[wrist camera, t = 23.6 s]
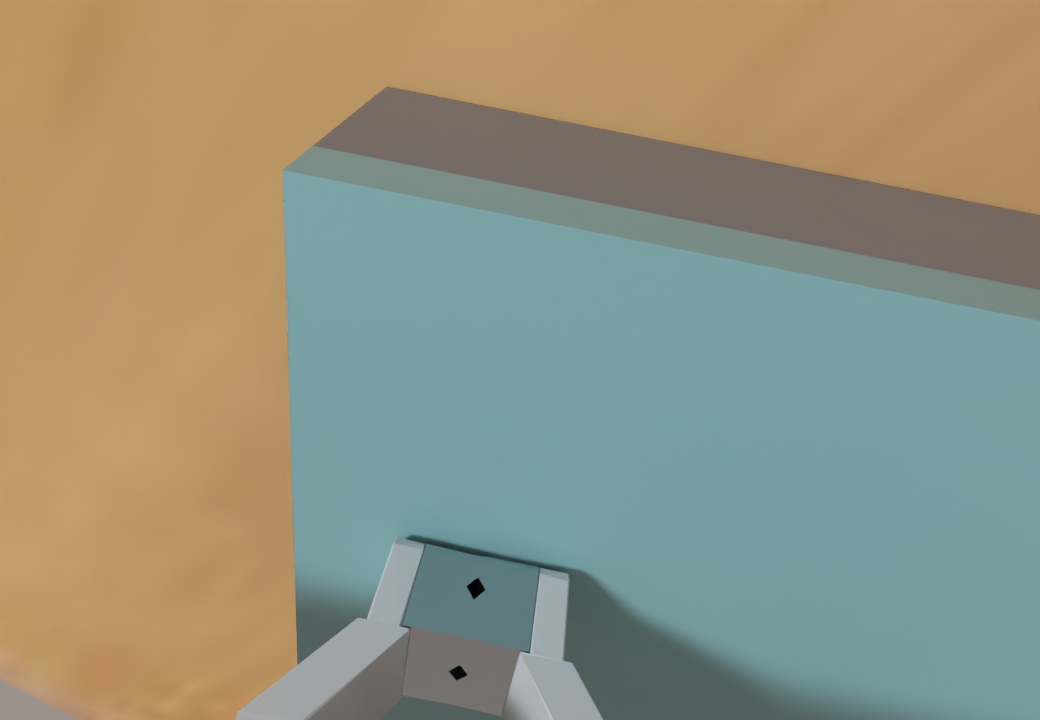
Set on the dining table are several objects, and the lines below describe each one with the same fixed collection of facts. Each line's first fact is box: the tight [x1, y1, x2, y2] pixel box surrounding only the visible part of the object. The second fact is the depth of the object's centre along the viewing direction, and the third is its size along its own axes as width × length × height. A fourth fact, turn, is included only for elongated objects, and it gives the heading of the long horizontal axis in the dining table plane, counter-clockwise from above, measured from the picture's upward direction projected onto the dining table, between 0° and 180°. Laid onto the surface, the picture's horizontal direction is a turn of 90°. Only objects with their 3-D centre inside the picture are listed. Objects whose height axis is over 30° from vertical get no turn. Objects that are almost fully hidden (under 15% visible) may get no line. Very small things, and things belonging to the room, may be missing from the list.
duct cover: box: [283, 146, 1040, 720], centre depth 13 cm, size 14×18×1 cm
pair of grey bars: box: [314, 87, 1040, 290], centre depth 15 cm, size 14×18×4 cm
